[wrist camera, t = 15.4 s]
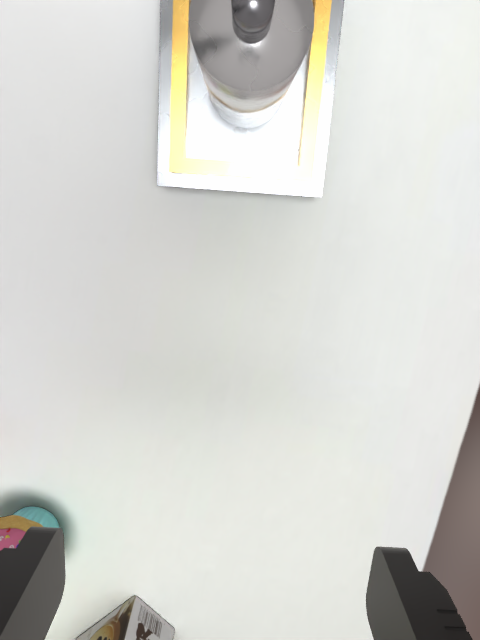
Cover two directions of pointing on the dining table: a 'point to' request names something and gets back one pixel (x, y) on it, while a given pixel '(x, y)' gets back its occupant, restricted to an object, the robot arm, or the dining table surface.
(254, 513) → the dining table surface
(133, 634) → the coffee box
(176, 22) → the grey square tray
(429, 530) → the dining table surface
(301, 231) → the dining table surface
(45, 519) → the cupcake
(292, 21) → the spout can
